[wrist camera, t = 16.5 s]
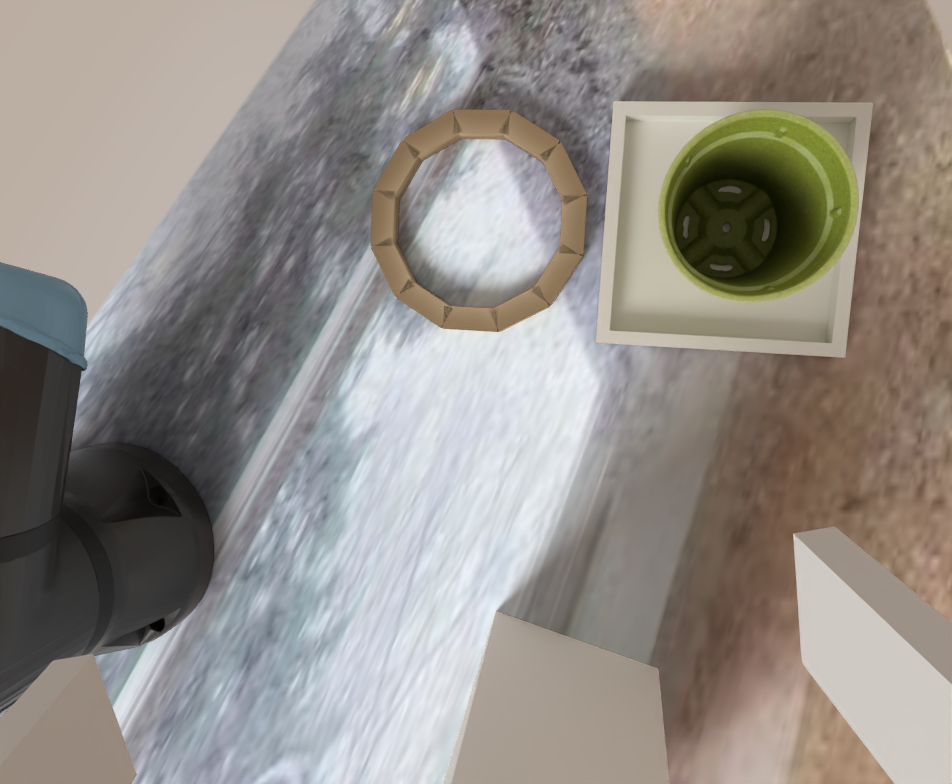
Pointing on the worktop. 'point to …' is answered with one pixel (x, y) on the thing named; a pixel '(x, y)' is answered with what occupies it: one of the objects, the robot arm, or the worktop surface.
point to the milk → (558, 714)
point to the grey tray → (657, 279)
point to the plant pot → (759, 205)
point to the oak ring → (401, 174)
